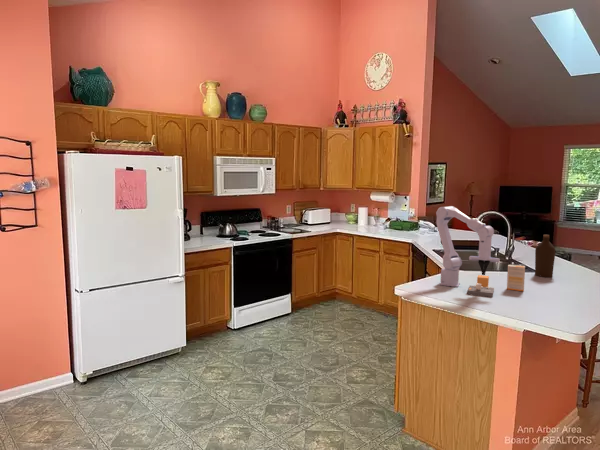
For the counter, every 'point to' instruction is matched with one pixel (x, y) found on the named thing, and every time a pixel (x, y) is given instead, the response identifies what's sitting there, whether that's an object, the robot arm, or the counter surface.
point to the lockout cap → (483, 280)
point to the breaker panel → (481, 291)
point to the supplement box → (515, 277)
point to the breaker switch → (478, 286)
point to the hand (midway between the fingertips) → (483, 274)
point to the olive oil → (544, 258)
